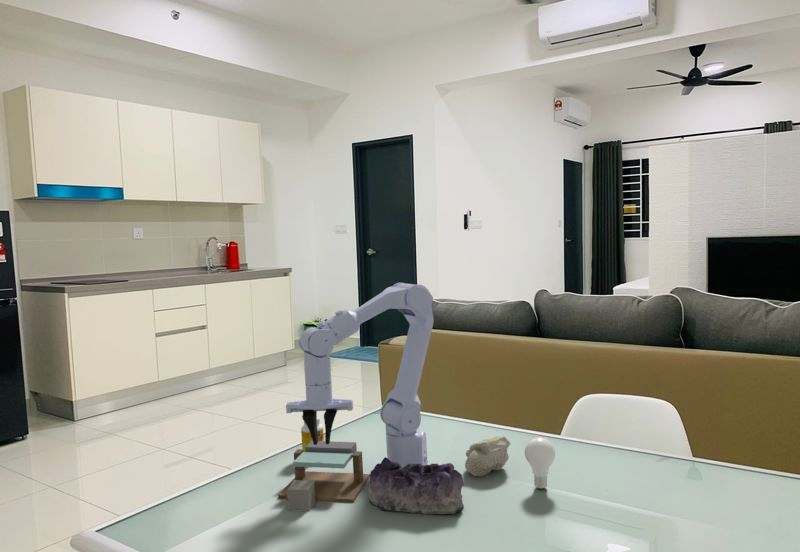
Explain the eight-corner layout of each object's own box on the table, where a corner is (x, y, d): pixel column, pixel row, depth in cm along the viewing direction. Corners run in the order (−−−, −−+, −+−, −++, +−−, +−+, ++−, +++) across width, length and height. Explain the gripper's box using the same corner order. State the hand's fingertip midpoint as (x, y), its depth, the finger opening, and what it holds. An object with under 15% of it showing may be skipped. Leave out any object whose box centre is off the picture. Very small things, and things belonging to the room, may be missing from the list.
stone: (315, 501, 125) (314, 480, 125) (309, 511, 121) (308, 489, 120) (295, 500, 126) (293, 480, 125) (288, 510, 121) (286, 489, 121)
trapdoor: (358, 451, 137) (357, 442, 137) (344, 469, 126) (344, 459, 126) (310, 449, 139) (309, 440, 139) (293, 467, 129) (292, 457, 129)
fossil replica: (456, 478, 134) (498, 488, 129) (456, 444, 132) (499, 453, 128) (475, 455, 144) (514, 464, 140) (475, 423, 143) (515, 431, 138)
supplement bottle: (311, 463, 146) (308, 423, 145) (298, 458, 150) (296, 418, 149) (329, 456, 150) (327, 417, 149) (316, 451, 154) (314, 413, 153)
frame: (369, 476, 136) (368, 447, 136) (353, 502, 124) (352, 469, 123) (300, 473, 140) (299, 444, 139) (278, 498, 127) (276, 466, 127)
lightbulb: (558, 484, 128) (557, 434, 127) (553, 496, 122) (551, 445, 121) (529, 480, 130) (527, 431, 129) (522, 492, 124) (521, 441, 124)
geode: (362, 518, 117) (359, 467, 117) (374, 500, 128) (371, 453, 129) (464, 518, 113) (461, 465, 114) (467, 499, 125) (464, 451, 125)
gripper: (353, 376, 133) (356, 435, 134) (289, 379, 133) (292, 437, 134) (350, 384, 126) (353, 446, 127) (282, 387, 126) (286, 449, 127)
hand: (321, 442), depth 130 cm, fingers closed
